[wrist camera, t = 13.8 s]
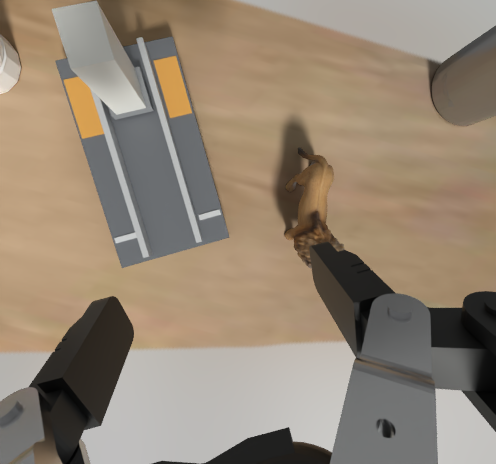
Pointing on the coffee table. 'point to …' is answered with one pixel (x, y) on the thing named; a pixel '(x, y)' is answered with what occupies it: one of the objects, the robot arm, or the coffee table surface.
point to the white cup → (8, 66)
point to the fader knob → (101, 59)
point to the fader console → (149, 161)
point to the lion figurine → (312, 207)
